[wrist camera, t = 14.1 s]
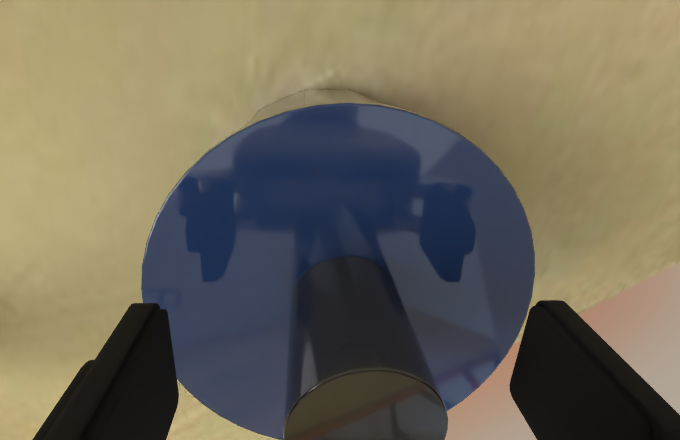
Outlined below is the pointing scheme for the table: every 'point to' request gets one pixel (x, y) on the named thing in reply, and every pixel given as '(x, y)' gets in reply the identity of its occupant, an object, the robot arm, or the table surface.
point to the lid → (340, 273)
